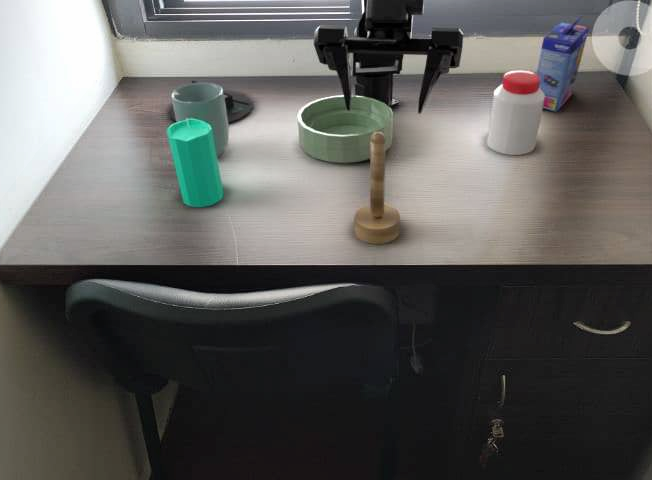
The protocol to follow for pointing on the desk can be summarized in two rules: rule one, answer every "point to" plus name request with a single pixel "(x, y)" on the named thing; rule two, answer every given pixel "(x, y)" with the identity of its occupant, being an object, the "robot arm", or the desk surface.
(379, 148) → the wooden mushroom pestle
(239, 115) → the black round base plate
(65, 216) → the desk surface
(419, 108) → the robot arm
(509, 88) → the pill bottle
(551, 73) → the ink cartridge box
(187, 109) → the cup
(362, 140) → the bowl
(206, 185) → the candle
